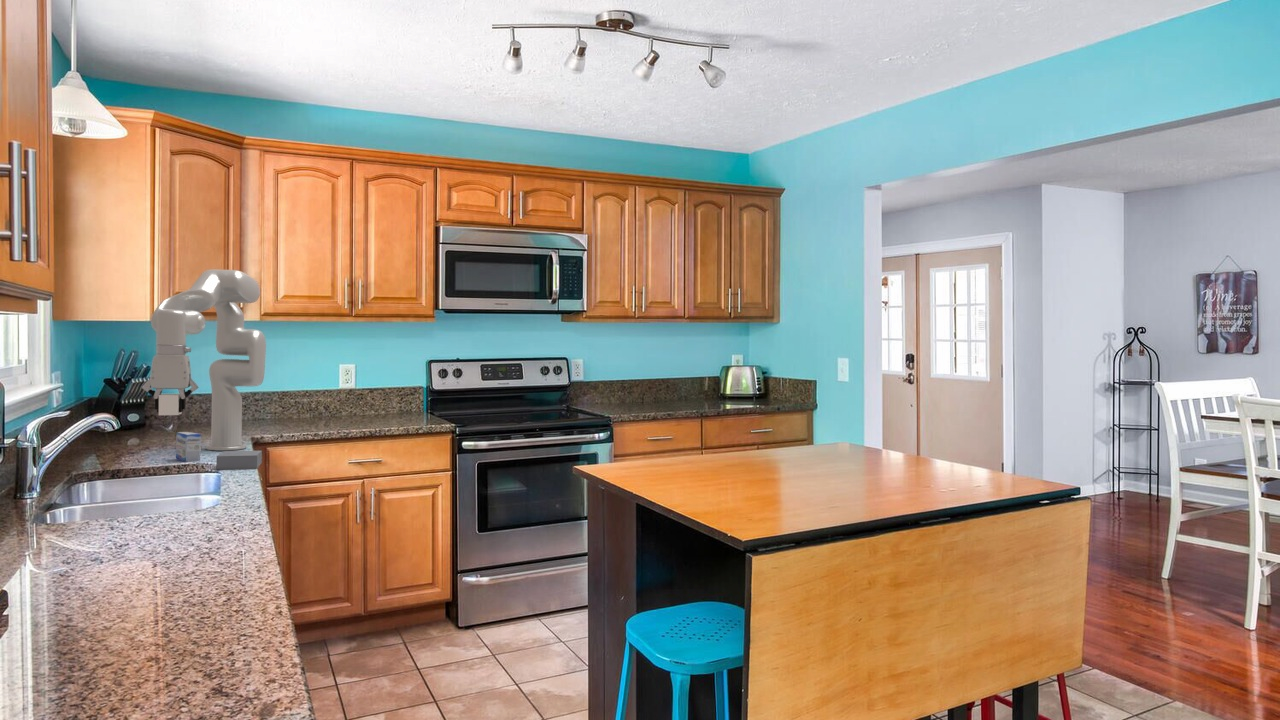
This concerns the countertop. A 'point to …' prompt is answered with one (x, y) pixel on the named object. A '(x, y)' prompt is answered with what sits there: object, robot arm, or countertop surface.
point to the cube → (169, 404)
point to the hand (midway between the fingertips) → (170, 411)
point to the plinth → (239, 460)
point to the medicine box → (188, 446)
